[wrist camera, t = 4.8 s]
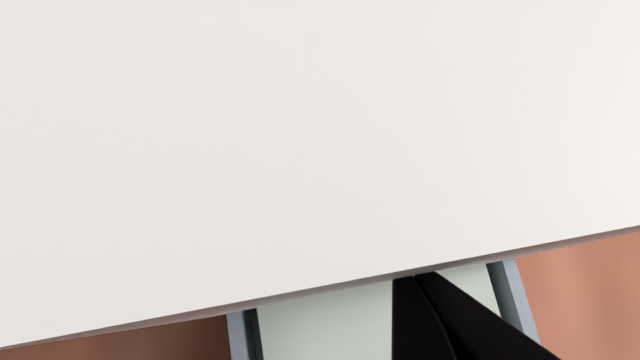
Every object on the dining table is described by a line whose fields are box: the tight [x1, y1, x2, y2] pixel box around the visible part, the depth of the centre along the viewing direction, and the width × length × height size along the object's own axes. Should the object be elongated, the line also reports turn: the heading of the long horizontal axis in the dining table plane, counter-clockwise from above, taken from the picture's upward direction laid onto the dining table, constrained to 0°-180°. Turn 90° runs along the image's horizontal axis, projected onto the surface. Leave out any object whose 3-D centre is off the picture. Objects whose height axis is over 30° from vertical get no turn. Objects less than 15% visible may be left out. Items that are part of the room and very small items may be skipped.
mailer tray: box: [226, 258, 542, 360], centre depth 14 cm, size 12×9×2 cm
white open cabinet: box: [0, 0, 640, 350], centre depth 11 cm, size 13×10×12 cm
